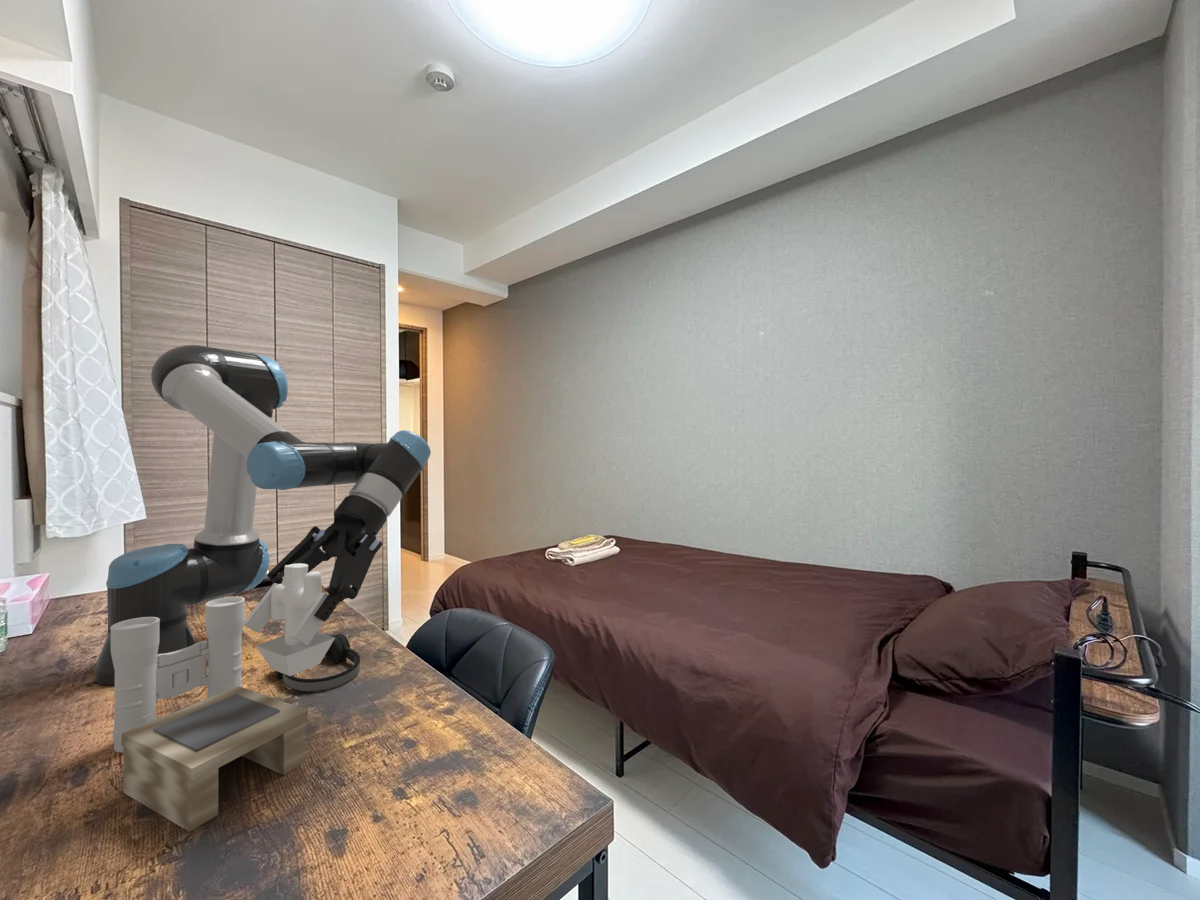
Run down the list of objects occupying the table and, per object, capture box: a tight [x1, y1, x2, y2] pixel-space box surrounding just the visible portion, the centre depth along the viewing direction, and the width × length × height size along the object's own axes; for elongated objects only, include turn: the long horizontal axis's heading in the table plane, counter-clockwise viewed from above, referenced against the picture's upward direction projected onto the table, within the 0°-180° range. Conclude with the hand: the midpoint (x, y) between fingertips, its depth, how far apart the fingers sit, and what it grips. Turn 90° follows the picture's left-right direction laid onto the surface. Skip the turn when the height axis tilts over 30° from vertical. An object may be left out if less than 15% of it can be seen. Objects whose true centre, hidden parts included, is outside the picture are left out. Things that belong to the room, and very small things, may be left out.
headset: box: [275, 632, 361, 694], centre depth 98 cm, size 13×9×19 cm
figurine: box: [255, 563, 335, 676], centre depth 72 cm, size 7×9×15 cm
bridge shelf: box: [121, 686, 309, 833], centre depth 67 cm, size 16×14×8 cm
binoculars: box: [110, 596, 246, 753], centre depth 80 cm, size 17×5×18 cm, turn 152°
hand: (274, 634), depth 70 cm, fingers closed on figurine, 9 cm apart
